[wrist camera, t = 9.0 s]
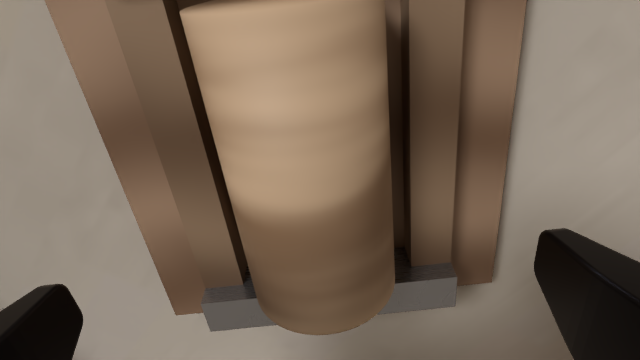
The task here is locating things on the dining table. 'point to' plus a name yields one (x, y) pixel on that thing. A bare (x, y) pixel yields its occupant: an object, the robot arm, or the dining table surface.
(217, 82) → the tan wooden cylinder
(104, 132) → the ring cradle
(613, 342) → the robot arm
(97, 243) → the dining table surface
